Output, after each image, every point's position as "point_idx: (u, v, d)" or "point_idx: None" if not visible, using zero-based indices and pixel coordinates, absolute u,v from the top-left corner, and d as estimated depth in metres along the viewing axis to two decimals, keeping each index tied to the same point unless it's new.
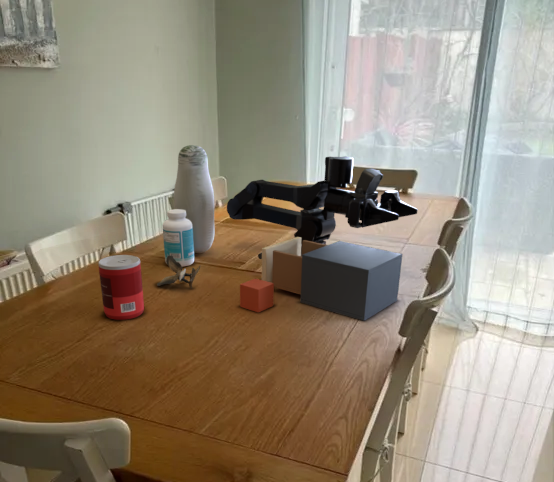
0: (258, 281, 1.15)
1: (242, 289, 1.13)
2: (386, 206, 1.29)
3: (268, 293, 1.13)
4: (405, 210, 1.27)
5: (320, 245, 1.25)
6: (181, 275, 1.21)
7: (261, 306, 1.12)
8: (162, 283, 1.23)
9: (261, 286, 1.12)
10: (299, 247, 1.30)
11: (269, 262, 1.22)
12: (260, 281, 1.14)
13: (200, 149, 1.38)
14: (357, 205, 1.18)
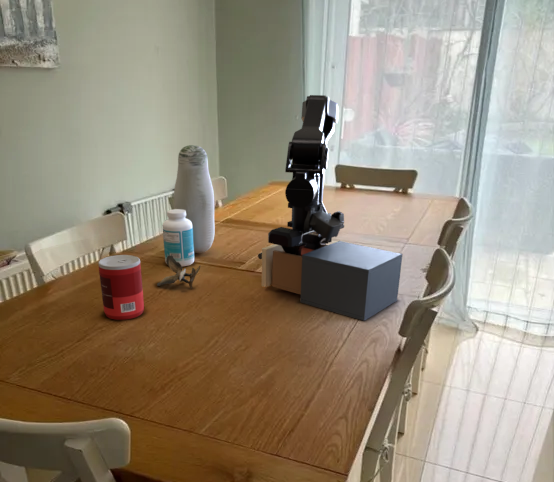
0: (304, 249, 1.23)
1: None
2: None
3: None
4: None
5: (320, 245, 1.25)
6: (181, 275, 1.21)
7: None
8: (162, 283, 1.23)
9: None
10: None
11: (269, 262, 1.22)
12: (306, 249, 1.23)
13: (200, 149, 1.38)
14: (285, 245, 1.12)
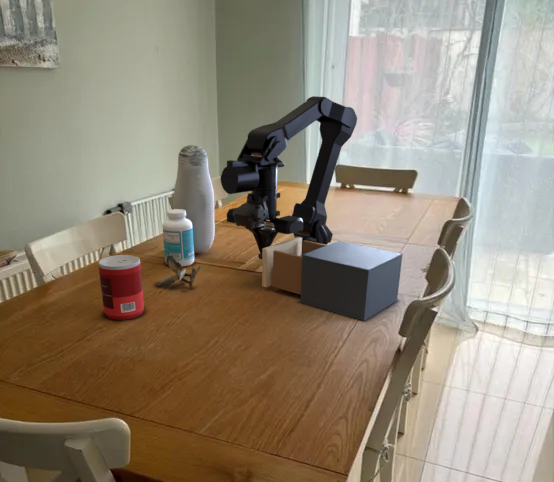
0: None
1: None
2: None
3: None
4: None
5: (321, 245, 1.25)
6: (181, 275, 1.21)
7: None
8: (162, 283, 1.23)
9: None
10: (300, 247, 1.30)
11: (269, 262, 1.22)
12: None
13: (200, 149, 1.38)
14: None
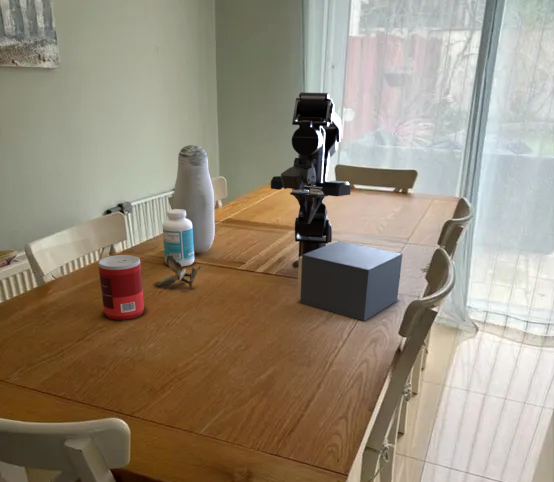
0: None
1: None
2: None
3: None
4: None
5: None
6: (181, 275, 1.21)
7: None
8: (162, 283, 1.23)
9: None
10: None
11: None
12: None
13: (200, 149, 1.38)
14: None
